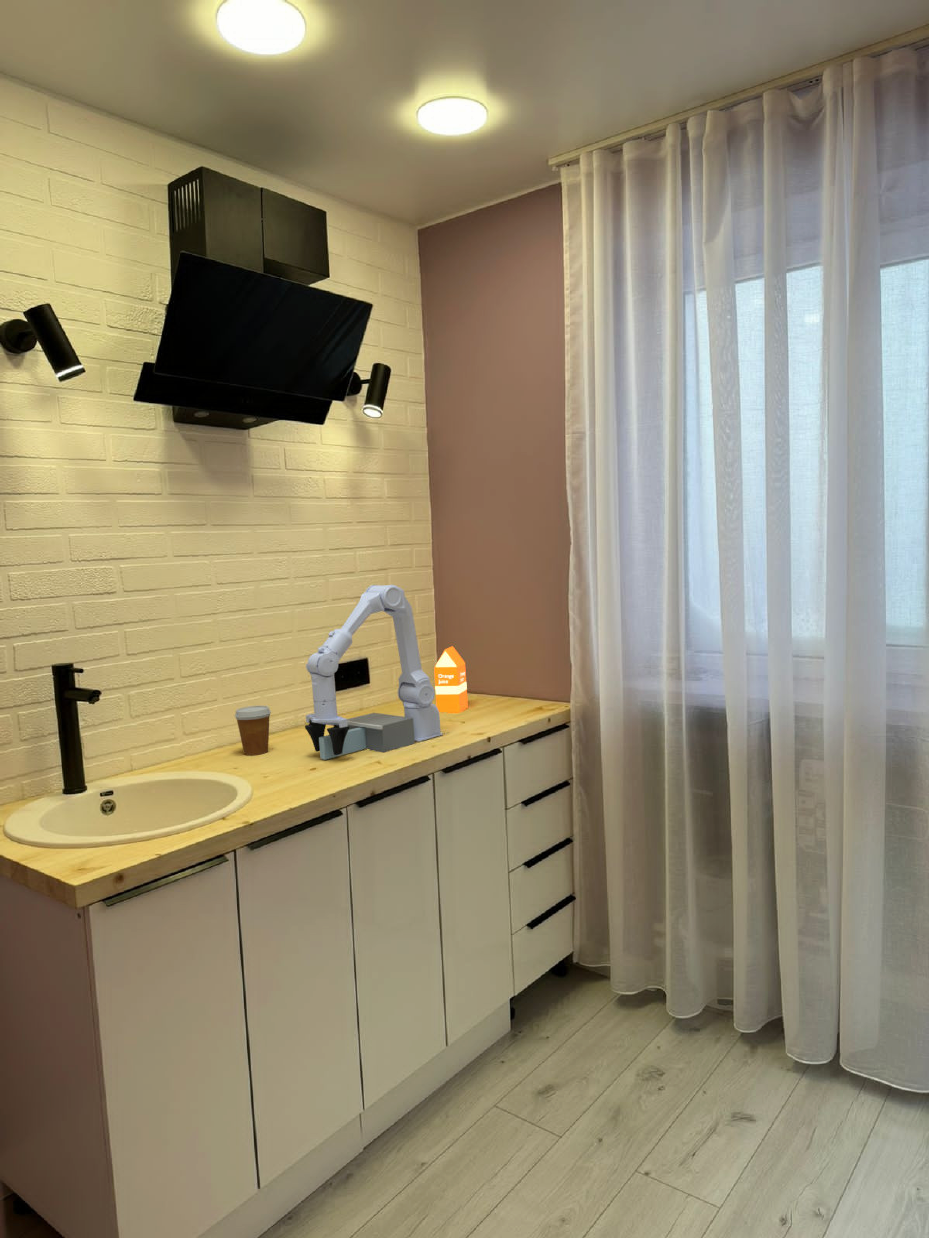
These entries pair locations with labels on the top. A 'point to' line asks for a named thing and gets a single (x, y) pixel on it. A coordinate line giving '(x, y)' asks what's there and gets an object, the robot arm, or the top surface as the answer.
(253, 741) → the disposable coffee cup
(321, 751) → the light blue rectangular block
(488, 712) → the top surface
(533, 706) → the top surface
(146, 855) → the top surface
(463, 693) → the orange juice
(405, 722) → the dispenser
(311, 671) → the robot arm
